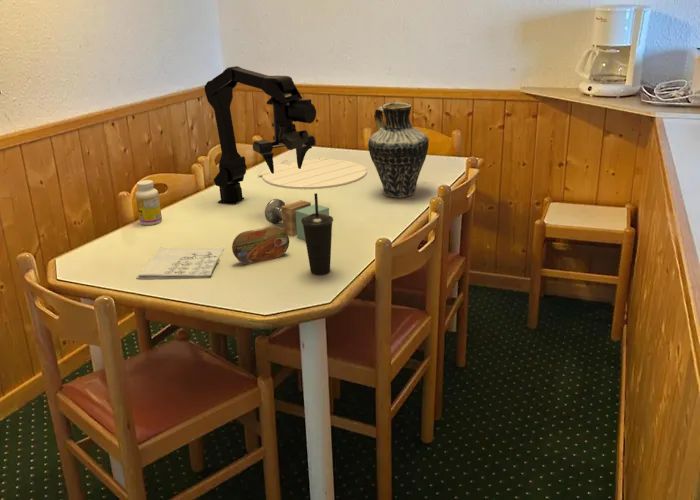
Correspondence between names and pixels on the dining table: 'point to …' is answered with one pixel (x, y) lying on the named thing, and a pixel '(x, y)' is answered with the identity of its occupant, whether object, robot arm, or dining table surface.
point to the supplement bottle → (148, 203)
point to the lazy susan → (314, 174)
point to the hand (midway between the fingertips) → (286, 170)
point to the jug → (397, 149)
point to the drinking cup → (318, 240)
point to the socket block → (305, 212)
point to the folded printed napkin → (181, 263)
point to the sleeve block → (292, 216)
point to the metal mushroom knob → (274, 211)
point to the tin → (260, 244)
